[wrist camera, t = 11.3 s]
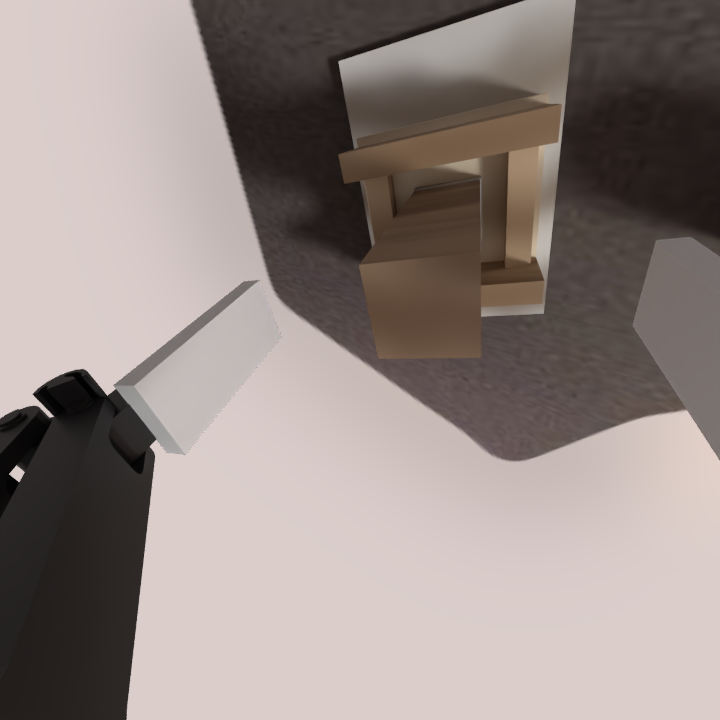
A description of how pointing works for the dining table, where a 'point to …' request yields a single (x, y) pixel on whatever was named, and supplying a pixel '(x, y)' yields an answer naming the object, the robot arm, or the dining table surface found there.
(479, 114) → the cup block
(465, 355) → the tall wooden block
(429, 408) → the dining table surface
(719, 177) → the dining table surface
